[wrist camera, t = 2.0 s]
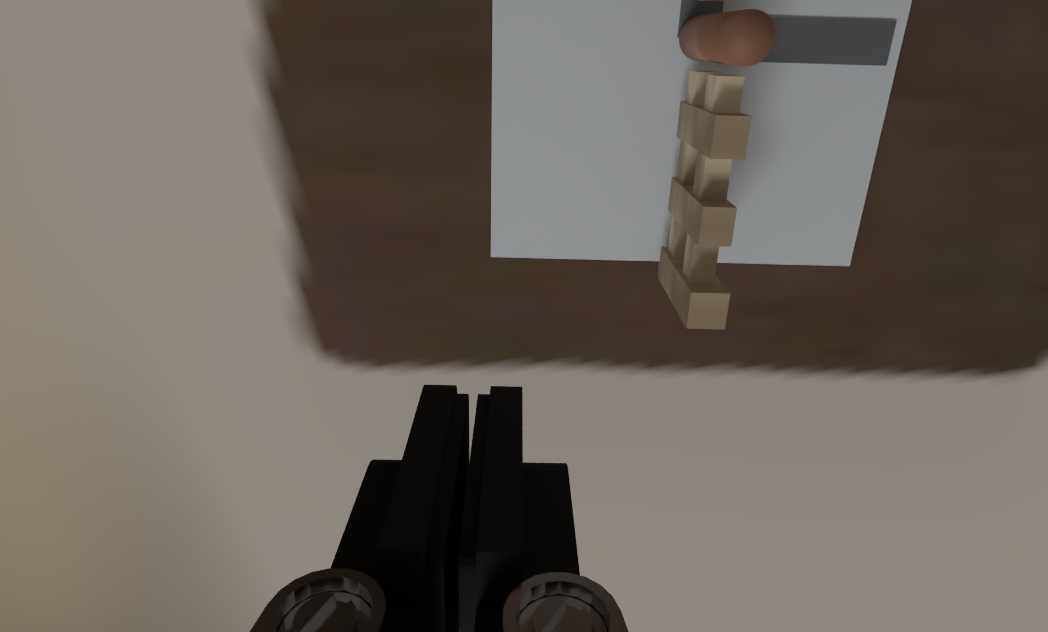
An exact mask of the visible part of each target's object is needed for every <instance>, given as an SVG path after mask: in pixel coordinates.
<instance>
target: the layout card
mask: <svg viewBox="0 0 1048 632" xmlns="http://www.w3.org/2000/svg"><path fill="white" fill-rule="evenodd" d="M911 2H912V0H726V1H699V0H493V27H492V169H491V257H514V258H554V259H593V260H632V261H660V252H661V247H668V245H669V237H670V228H671V220H672V214H671V213H670V212H669V211H668V206H669V197H670V188H671V180H672V177H677V169H678V161H679V152H680V144H681V140H680V139H679V138H677V137H676V136H677V127H678V119H679V110H680V101H686V93H687V84H688V76H689V70H692V71H715V72H721V74H723V75H738V76H744V77H745V79H744V86H743V93H742V99H741V106H740V112H741V113H743V114H746V115H749V116H752V117H751V124H750V130H749V136H748V143H747V149H746V156H745V160H734V159H732V166H731V173H730V179H729V186H728V193H727V200H728V201H729V202H731V203H732V204H733V205H734V206H736V207H737V213H736V219H735V225H734V232H733V238H732V245H731V247H719V253H718V259H717V263H749V264H788V265H827V266H850V262H851V258H852V254H853V249H854V245H855V241H856V237H857V232H858V228H859V224H860V220H861V215H862V211H863V207H864V203H865V198H866V194H867V190H868V185H869V181H870V177H871V173H872V168H873V164H874V160H875V156H876V151H877V147H878V143H879V139H880V134H881V130H882V126H883V121H884V117H885V113H886V109H887V104H888V100H889V96H890V92H891V87H892V83H893V79H894V75H895V70H896V66H897V62H898V57H899V53H900V49H901V45H902V40H903V36H904V32H905V28H906V23H907V19H908V15H909V11H910V6H911ZM745 9H758V10H761V11H763V12H765V13H766V14H768V15H769V16H770V18H771V19H772V21H773V23H774V26H775V31H776V37H775V42H774V45H773V48H772V50H771V51H770V53H769V54H768V56H767V57H766V58H765V59H764V60H762V61H761V62H759V63H758V64H755V65H752V66H746V67H744V66H736V65H728V64H720V63H713V62H705V61H697V60H692V59H689V58H688V57H686V56H685V55H684V54H683V52H682V50H681V48H680V45H679V36H680V32H681V29H682V28H683V26H684V25H685V23H686V22H687V21H688V20H690V19H691V18H693V17H695V16H699V15H707V14H714V13H722V12H730V11H738V10H745Z"/></svg>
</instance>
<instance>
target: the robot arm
mask: <svg viewBox="0 0 1048 632" xmlns="http://www.w3.org/2000/svg"><path fill="white" fill-rule="evenodd" d="M522 461H523V457H522V387H503V386H501V387H500V386H491V390H490V395H488V394H486V395H484V394H478V400H477V407H476V415H475V424H474V431H473V439H472V448H471V455H470V463H469V395H468V394H457V387H456V386H454V385H424V387H423V389H422V393H421V396H420V400H419V403H418V407H417V410H416V413H415V417H414V421H413V424H412V427H411V431H410V434H409V438H408V442H407V444H406V448H405V451H404V455H403V458H402V460H372V461H371V462H370V464H369V466H368V468H367V471H366V473H365V476H364V479H363V481H362V484H361V487H360V490H359V492H358V495H357V498H356V501H355V504H354V506H353V509H352V512H351V514H350V517H349V520H348V523H347V525H346V528H345V531H344V533H343V536H342V539H341V542H340V544H339V547H338V550H337V552H336V555H335V558H334V560H333V563H332V566H331V568H330V569H325V570H320V571H315V572H311V573H309V574H307V575H304V576H302V577H300V578H298V579H295V580H294V581H292V582H291V583H289V584H288V585H287V586H285V587H284V588H282V589H281V590H280V591H279V592H278V593H277V594H276V595H275V596H274V597H273V599H272V600H271V601H270V602H269V603H268V604H267V606H266V607H265V609H264V610H263V612H262V614H261V615H260V617H259V618H258V620H257V621H256V623H255V624H254V626H253V628H252V629H251V630H250V632H628V629H627V627H626V624H625V621H624V618H623V616H622V613H621V610H620V608H619V607H618V605H617V603H616V602H615V600H614V598H613V597H612V595H611V594H609V593H608V592H607V591H606V590H605V589H604V588H603V587H602V586H601V585H599V584H597V583H596V582H594V581H592V580H590V579H588V578H586V577H584V576H580V573H579V564H578V556H577V546H576V537H575V528H574V519H573V510H572V501H571V492H570V483H569V474H568V467H567V464H566V463H523V462H522Z"/></svg>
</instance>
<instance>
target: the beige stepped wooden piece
mask: <svg viewBox="0 0 1048 632" xmlns="http://www.w3.org/2000/svg"><path fill="white" fill-rule="evenodd" d="M775 37H776V31H775V26H774V23H773V21H772V19H771V18H770V16H769V15H768V14H766V13H765V12H763V11H761V10H758V9H745V10H738V11H730V12H722V13H714V14H707V15H699V16H695V17H693V18H691V19H690V20H688V21H687V22H686V23H685V25H684V26H683V28H682V29H681V32H680V36H679V45H680V48H681V50H682V52H683V54H684V55H685V56H686V57H688V58H689V59H692V60H697V61H705V62H713V63H720V64H728V65H736V66H744V67H746V66H752V65H755V64H758V63H759V62H761V61H762V60H764V59H765V58H766V57H767V56H768V54H769V53H770V51H771V50H772V48H773V45H774V42H775ZM744 79H745V77H744V76H738V75H723V74H721V72H715V71H692V70H689V76H688V84H687V93H686V101H680V110H679V119H678V127H677V136H676V137H677V138H679V139H680V140H681V144H680V152H679V161H678V169H677V177H672V180H671V188H670V197H669V206H668V211H669V212H670V213H671V214H672V220H671V228H670V237H669V245H668V247H661V252H660V261H659V270H658V278H659V280H660V282H661V284H662V286H663V287H664V289H665V291H666V293H667V294H668V296H669V298H670V300H671V302H672V303H673V305H674V307H675V309H676V311H677V312H678V314H679V316H680V318H681V319H682V321H683V323H684V325H685V327H686V328H692V329H725V324H726V317H727V311H728V305H729V299H730V293H729V291H728V290H727V289H726V288H725V286H724V285H723V284H722V283H721V281H720V280H719V279H718V278H717V277H716V275H715V273H716V266H717V259H718V253H719V247H731V245H732V238H733V232H734V225H735V219H736V213H737V207H736V206H734V205H733V204H732V203H731V202H729V201H728V200H727V193H728V186H729V179H730V173H731V166H732V159H734V160H745V156H746V149H747V143H748V136H749V130H750V124H751V117H752V116H749V115H746V114H743V113H741V112H740V106H741V99H742V93H743V86H744Z"/></svg>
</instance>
